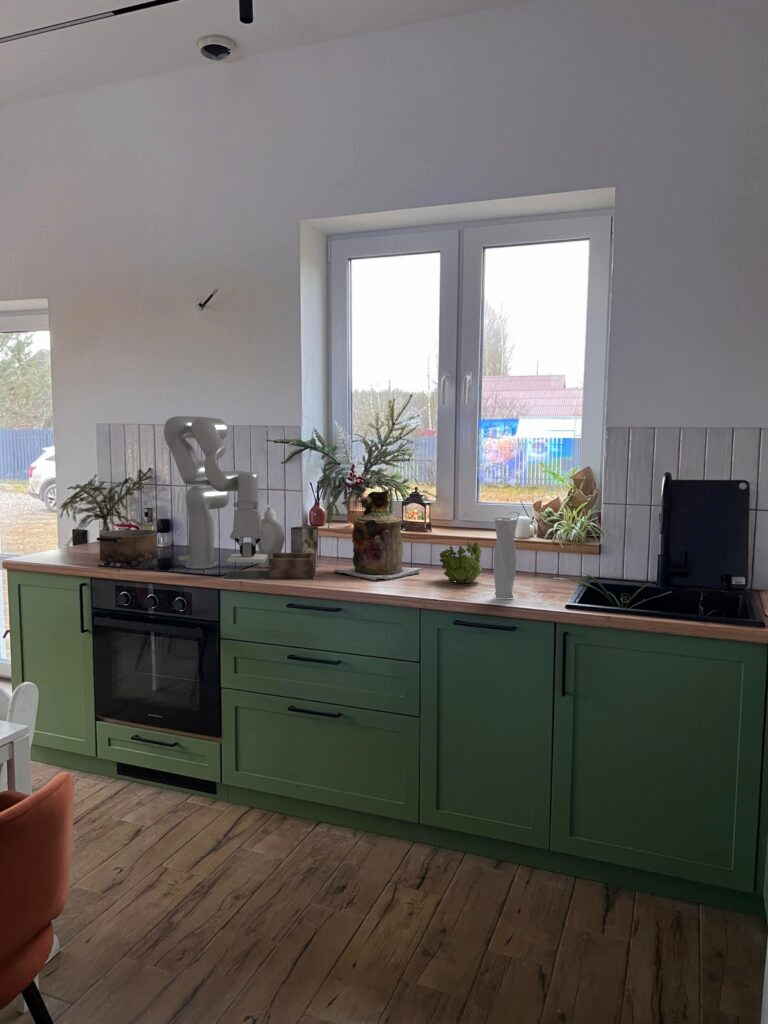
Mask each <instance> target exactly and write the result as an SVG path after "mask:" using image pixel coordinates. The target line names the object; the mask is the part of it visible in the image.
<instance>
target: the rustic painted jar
mask: <svg viewBox="0 0 768 1024" xmlns="http://www.w3.org/2000/svg"><path fill="white" fill-rule="evenodd" d="M389 491H390V490H389V489H385V490H384V491H371V492H369V493H368V494H367V496H364V497H362V498H361V499H360V501H361V502H360V505H361V507H362V508H364V511H363V514H360V515H359V516H358V517H357V519H355V520H354V521H353V528H352V532H351V533H352V534H351V535H352V536H351V537H352V540H351V542H352V544H353V546H352V547H353V548H352V552H353V556H352V564H353V567H351V568H346V569H333V572H334V573H336V572H338V573H339V574H344V573H345V574H347V575H350V576H354V577H358V578H363V579H369V580H372V581H376V580H377V579H384V580H392V579H395V578H400V577H405V576H409V575H410V574H411V575H416V574H415V573H420V572H421V570H422V568H421V567H404V566H403V565H402V562H403V555H404V547H403V540H402V531H401V525H402V524H403V519H402V518H399V517H395V516H394V515H392V514H391V513H390V512H389V511H388V506H389V504H390V501H389V493H390V492H389ZM338 573H337V574H338Z"/></svg>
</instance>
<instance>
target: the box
mask: <svg viewBox="0 0 768 1024" xmlns="http://www.w3.org/2000/svg"><path fill="white" fill-rule="evenodd" d="M268 562H269V568H268V570H269V575H268V580H314V578H315V575H316V572H317V571H316V570H317V569H316V568H317V567H316V553H291V552H281V553H273V558H269V559H268Z"/></svg>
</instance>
